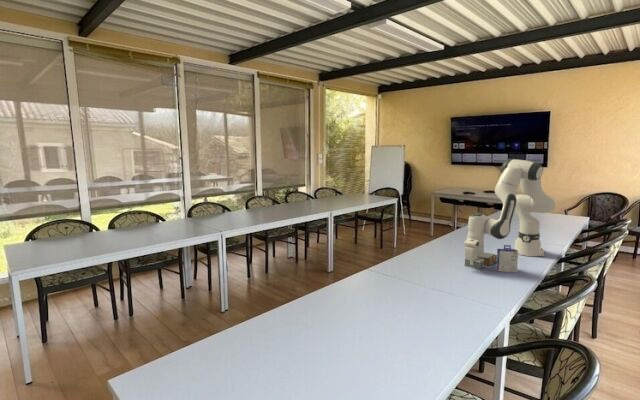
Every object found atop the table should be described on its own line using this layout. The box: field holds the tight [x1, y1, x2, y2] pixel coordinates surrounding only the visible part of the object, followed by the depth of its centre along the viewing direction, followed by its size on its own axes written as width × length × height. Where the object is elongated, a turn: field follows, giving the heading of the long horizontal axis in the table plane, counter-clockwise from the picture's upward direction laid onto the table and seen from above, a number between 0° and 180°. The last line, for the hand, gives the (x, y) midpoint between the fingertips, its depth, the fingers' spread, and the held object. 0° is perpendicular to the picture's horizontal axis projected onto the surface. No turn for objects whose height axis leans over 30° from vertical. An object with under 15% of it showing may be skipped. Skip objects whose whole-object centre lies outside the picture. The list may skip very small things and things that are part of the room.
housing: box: [464, 257, 485, 270], centre depth 205 cm, size 5×9×5 cm, turn 42°
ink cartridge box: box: [496, 244, 519, 273], centre depth 198 cm, size 10×6×14 cm, turn 78°
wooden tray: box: [479, 252, 497, 267], centre depth 215 cm, size 14×12×4 cm
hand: (474, 263), depth 205 cm, fingers closed on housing, 5 cm apart
